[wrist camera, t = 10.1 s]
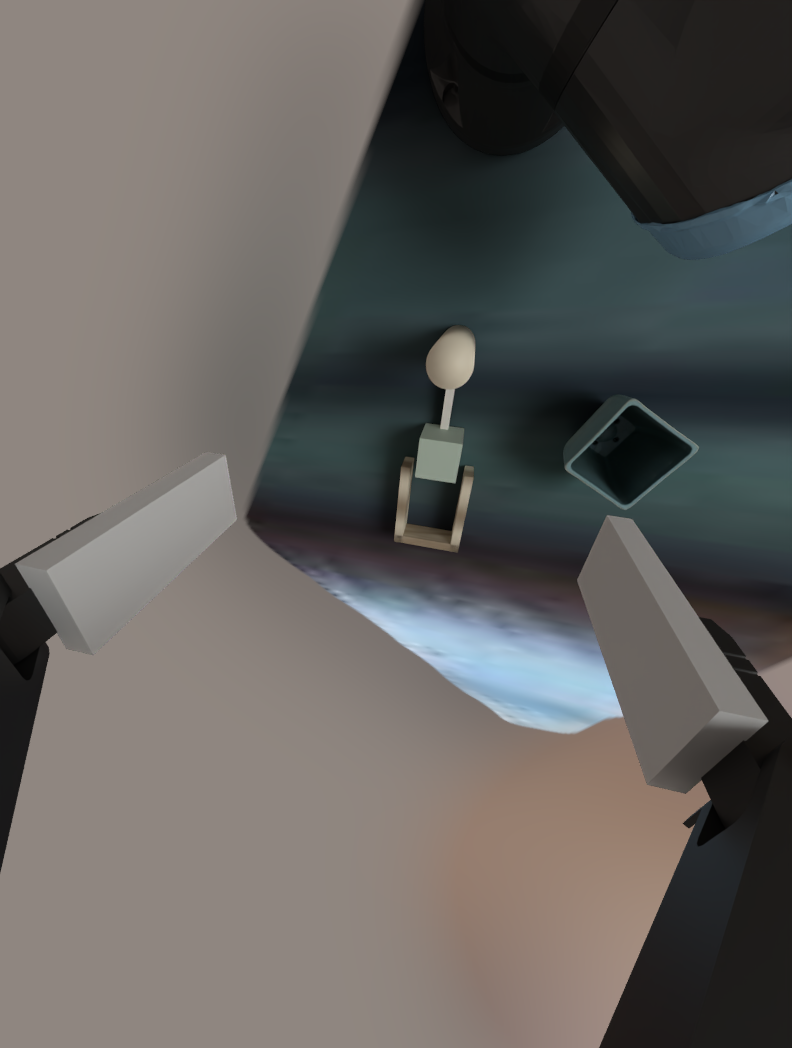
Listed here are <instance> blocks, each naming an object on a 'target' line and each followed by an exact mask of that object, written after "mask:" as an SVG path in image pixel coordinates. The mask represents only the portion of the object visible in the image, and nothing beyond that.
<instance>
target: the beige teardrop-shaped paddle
mask: <svg viewBox="0 0 792 1048" xmlns="http://www.w3.org/2000/svg"><path fill="white" fill-rule="evenodd" d="M474 360H475V337H474V334H473V333H472V331H471V330H470V329H469V328H468V327H466V326H463V325H455V326H452V327H450V328H449V329H447V330H446V331H445V332H444V334H443V335H442V336H441V337H440V339H439V340H438V341H437V342H436V343H435V345H434V346H433V347H432V348H431V350H430V351H429V353H428V356H427V360H426V370H427V374H428V376H429V378H430V380H431V381H432V382H433V383H434V384H435V385H436V386H438V387H440V388H442V389H446V393H445V399H444V406H443V413H442V420H441V425H437V424H430V423H426V424H425V426H424V429H423V431H422V434H421V436H420V440H419V448H418V456H417V465H416V473H415V477H417V478H424V479H430V480H436V481H443V482H449V483H456V478H457V472H458V467H459V462H460V456H461V451H462V446H463V437H464V428H459V427H451V426H449V422H450V416H451V409H452V403H453V397H454V391H455V389H456V388H458V387H460V386H462V385H463V384H465V383H466V382H467V381H468V379H469V378H470V376H471V375H472V372H473V369H474Z"/></svg>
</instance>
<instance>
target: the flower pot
mask: <svg viewBox="0 0 792 1048" xmlns="http://www.w3.org/2000/svg"><path fill="white" fill-rule="evenodd" d="M615 419H619V421H618V422H617V423H615V422H614V420H615ZM615 437H618V440H617V441H614V440H613V439H614V438H615ZM594 441H597V443H596V444H593V442H594ZM698 449H699V447H698V445H696V444H695V443H694V442H692V441H691V440H689V439H688V438H687V437H685V436H684V435H682V434H681V433H680V432H678V431H677V430H675V429H674V428H673V427H671V426H670V425H669V424H667V423H666V422H665V421H663V420H662V419H661V418H659V417H658V416H657V415H655V414H654V413H653V412H652V411H650V410H649V409H648V408H647V407H645V406H644V405H643V404H642V403H641V402H639V401H638V400H636V399H633V398H630V397H627V396H624V395H613V396H611V397H610V398H608V399H607V400H606V401H605V402H604V403H603V404H602V405H601V407H600V408H599V409H598V410H597V411H596V412H595V413H594V414H593V415H592V416H591V417H590V418H589V419H588V420H587V421H586V422H585V423H584V425H583V426H582V427H581V428H580V429H579V430H578V431H577V432H576V433H575V434H574V435H573V436H572V437H571V438H570V439H569V440H568V442H567V443H566V444H565V446H564V449H563V457H564V466H565V470H566V471H567V472H569V473H570V474H572V475H573V476H575V477H576V478H578V479H579V480H581V481H582V482H584V483H585V484H586V485H588V486H589V487H591V488H592V489H594V490H595V491H597V492H598V493H599V494H601V495H602V496H604V497H605V498H606V499H608V500H609V501H611V502H612V503H614V504H615V505H616V506H618V507H619V508H621V509H623V510H626V509H628V508H630V507H631V506H633V505H634V504H635V503H636V502H637V501H639V500H640V499H641V498H642V497H643V496H644V495H646V494H647V493H648V492H649V491H650V490H652V489H653V488H654V487H655V486H656V485H657V484H659V483H660V482H661V481H662V480H663V479H665V478H666V477H667V476H669V475H670V474H671V473H672V472H673V471H674V470H676V469H677V468H678V467H679V466H681V465H682V464H683V463H684V462H686V461H687V460H688V459H689V458H691V457H692V456H693V455H694V454H695V453H696V452H697V451H698Z"/></svg>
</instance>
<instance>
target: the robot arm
mask: <svg viewBox="0 0 792 1048" xmlns="http://www.w3.org/2000/svg"><path fill="white" fill-rule="evenodd" d="M424 46H425V56H426V63H427V68H428V73H429V77H430V82H431V86H432V90H433V93H434V96H435V99H436V102H437V105H438V107H439V109H440V111H441V113H442V115H443V117H444V119H445V121H446V122H447V124H448V125H449V127H450V128H451V129H452V130H453V132H454V133H455V134H456V135H457V136H458V137H459V138H460V139H461V140H462V141H463V142H465V143H466V144H467V145H469V146H471V147H472V148H474V149H476V150H478V151H481V152H484V153H487V154H492V155H512V154H517V153H521V152H524V151H527V150H529V149H532V148H534V147H536V146H538V145H540V144H541V143H543V142H545V141H546V140H548V139H549V138H550V137H552V136H553V135H554V134H556V133H557V132H558V131H559V130H560V129H561V128H562V127H564V126H565V127H566V128H567V130H568V131H569V132H570V133H571V135H572V136H573V137H574V139H575V140H576V141H577V142H578V144H579V145H580V146H581V148H582V149H583V150H584V151H585V153H586V154H587V155H588V157H589V158H590V159H591V160H592V162H593V163H594V164H595V165H596V167H597V168H598V169H599V171H600V172H601V173H602V174H603V176H604V177H605V178H606V180H607V181H608V182H609V183H610V185H611V186H612V187H613V189H614V190H615V191H616V192H617V194H618V195H619V196H620V198H621V199H622V200H623V201H624V203H625V204H626V205H627V207H628V208H629V209H630V210H631V215H632V218H633V220H634V222H635V223H636V224H637V225H640V227H641V228H642V229H645V230H648V231H649V232H650V233H651V234H652V235H653V236H654V237H655V239H656V240H657V241H658V242H659V243H660V244H661V245H662V246H663V247H664V249H665V250H666V251H667V252H668V253H670V254H672V255H674V256H676V257H678V258H683V259H687V260H696V259H705V258H711V257H715V256H719V255H722V254H725V253H728V252H731V251H734V250H736V249H739V248H741V247H744V246H746V245H749V244H751V243H753V242H756V241H758V240H760V239H762V238H765V237H767V236H769V235H771V234H773V233H775V232H777V231H779V230H781V229H783V228H785V227H786V226H788V225H790V224H792V0H425V12H424ZM236 520H237V516H236V511H235V505H234V500H233V493H232V488H231V482H230V477H229V472H228V466H227V460H226V455H224V454H218V453H211V452H204V453H203V454H201V455H199V456H198V457H196V458H194V459H193V460H191V461H189V462H187V463H186V464H184V465H182V466H181V467H179V468H177V469H176V470H174V471H172V472H170V473H169V474H167V475H165V476H164V477H162V478H161V479H158V480H157V481H155V482H153V483H152V484H150V485H148V486H147V487H145V488H143V489H141V490H140V491H138V492H136V493H135V494H133V495H131V496H130V497H128V498H126V499H125V500H123V501H121V502H119V503H118V504H116V505H114V506H112V507H111V508H109V509H107V510H106V511H104V512H102V513H100V514H97V515H95V516H92V517H89V518H87V519H85V520H83V521H82V522H80V523H78V524H76V525H75V526H73V527H71V529H70V530H66V531H64V532H63V533H61V534H59V535H57V536H56V539H53V538H52V539H50V540H49V541H47V542H45V543H44V544H42V545H40V546H38V547H37V548H35V549H33V550H32V551H30V552H28V553H26V554H25V555H23V556H21V557H19V558H18V559H16V560H14V561H13V562H11V563H9V564H8V565H6V566H4V567H2V568H0V871H1V867H2V863H3V858H4V854H5V850H6V845H7V841H8V836H9V832H10V827H11V823H12V818H13V814H14V809H15V805H16V800H17V796H18V791H19V787H20V782H21V778H22V774H23V769H24V764H25V760H26V756H27V751H28V747H29V742H30V738H31V734H32V729H33V724H34V720H35V716H36V711H37V707H38V702H39V697H40V694H41V689H42V685H43V680H44V676H45V671H46V666H47V662H48V658H49V647H48V646H47V644H46V641H47V640H48V639H50V638H51V637H52V636H53V635H54V634H56V633H57V634H58V636H59V637H60V639H61V640H62V642H63V644H64V645H65V647H66V649H69V650H73V651H78V652H82V653H86V654H91V655H94V654H95V653H96V652H97V651H98V650H100V649H101V648H102V647H103V646H104V645H105V644H106V643H107V642H108V641H109V640H110V639H111V638H112V637H113V636H114V635H115V634H116V633H118V632H119V631H120V630H121V629H122V628H123V627H124V626H125V625H126V624H127V623H128V622H129V621H130V620H131V619H132V618H133V617H134V616H136V614H138V613H139V612H140V611H141V610H142V609H143V608H144V607H145V606H146V605H147V604H148V603H149V602H150V601H151V600H152V599H154V598H155V597H156V596H157V595H158V594H159V593H160V592H161V591H162V590H163V589H164V588H165V587H166V586H167V585H168V584H169V583H170V582H172V581H173V580H174V579H175V578H176V577H177V576H178V575H179V574H180V573H181V572H182V571H183V570H184V569H185V568H186V567H187V566H188V565H190V563H192V562H193V561H194V560H195V559H196V558H197V557H198V556H199V555H200V554H201V553H202V552H203V551H204V550H205V549H206V548H208V547H209V546H210V545H211V544H212V543H213V542H214V541H215V540H216V539H217V538H218V537H219V536H220V535H221V534H222V533H223V532H224V531H226V529H228V528H229V527H230V526H231V525H232V524H233V523H234V522H235V521H236ZM577 581H578V584H579V587H580V590H581V593H582V596H583V599H584V602H585V605H586V608H587V611H588V614H589V617H590V619H591V622H592V625H593V628H594V631H595V634H596V637H597V640H598V643H599V646H600V649H601V652H602V655H603V657H604V660H605V663H606V666H607V669H608V672H609V675H610V678H611V681H612V684H613V687H614V690H615V692H616V695H617V698H618V701H619V704H620V707H621V710H622V713H623V716H624V719H625V722H626V724H627V727H628V730H629V733H630V736H631V739H632V742H633V745H634V748H635V751H636V754H637V757H638V760H639V763H640V766H641V768H642V771H643V774H644V777H645V780H646V783H647V785H651V786H655V787H659V788H664V789H668V790H672V791H677V792H681V793H685V794H686V793H687V792H688V791H690V790H691V789H692V788H693V787H694V786H695V785H696V784H697V783H699V782H700V781H701V780H702V781H703V784H704V786H705V788H706V790H707V792H708V795H709V797H710V799H711V800H710V801H709V802H707V803H706V804H705V805H704V806H703V807H701V808H700V809H699V810H698V811H696V812H695V813H694V814H693V815H691V816H690V817H689V818H688V819H687V820H686V821H685V822H684V823H683V824H684V825H685V826H686V827H688V828H690V827H692V826H693V825H694V824H695V826H694V828H693V831H692V833H691V835H690V838H689V840H688V842H687V844H686V847H685V849H684V851H683V854H682V856H681V858H680V861H679V863H678V865H677V868H676V870H675V872H674V875H673V877H672V879H671V882H670V884H669V887H668V889H667V891H666V893H665V896H664V898H663V900H662V903H661V905H660V907H659V910H658V912H657V914H656V917H655V919H654V921H653V924H652V926H651V928H650V931H649V933H648V935H647V938H646V940H645V942H644V945H643V947H642V949H641V951H640V954H639V957H638V959H637V961H636V963H635V966H634V968H633V970H632V972H631V975H630V977H629V980H628V982H627V984H626V987H625V989H624V991H623V994H622V996H621V998H620V1001H619V1003H618V1005H617V1007H616V1010H615V1012H614V1014H613V1017H612V1019H611V1021H610V1024H609V1026H608V1028H607V1031H606V1033H605V1035H604V1038H603V1040H602V1042H601V1045H600V1047H599V1048H792V718H791V717H790V716H789V714H788V713H787V712H786V710H785V709H784V707H783V706H782V705H781V703H780V702H779V701H778V699H777V698H776V697H775V695H774V694H773V692H772V691H771V690H770V688H769V687H768V686H767V684H766V683H765V682H764V680H763V679H762V678H761V676H758V675H757V671H756V669H755V668H754V667H753V665H752V664H751V663H750V661H749V660H746V659H745V657H746V656H745V654H744V653H743V652H742V650H741V649H740V648H739V646H738V645H737V643H736V642H735V641H734V639H733V638H732V637H731V636H730V635H729V634H728V633H726V632H725V631H724V630H723V629H722V628H721V627H719V626H718V625H717V624H716V623H715V622H714V621H712V620H711V619H706V618H701V617H698V616H697V614H696V613H695V611H694V610H693V608H692V607H691V605H690V604H689V602H688V601H687V600H686V598H685V597H684V595H683V594H682V592H681V591H680V589H679V588H678V586H677V585H676V583H675V582H674V580H673V579H672V577H671V576H670V574H669V573H668V571H667V570H666V568H665V567H664V566H663V564H662V563H661V561H660V560H659V558H658V557H657V555H656V554H655V552H654V551H653V549H652V548H651V546H650V545H649V543H648V542H647V540H646V539H645V537H644V536H643V534H642V533H641V532H640V530H639V529H638V527H637V526H636V524H635V523H634V521H633V520H632V519H628V518H621V517H615V516H609V515H607V516H606V519H605V521H604V523H603V525H602V527H601V529H600V532H599V534H598V536H597V538H596V540H595V542H594V545H593V547H592V549H591V551H590V553H589V556H588V558H587V560H586V562H585V564H584V566H583V569H582V571H581V573H580V575H579V577H578V580H577Z"/></svg>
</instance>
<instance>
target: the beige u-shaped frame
mask: <svg viewBox="0 0 792 1048" xmlns="http://www.w3.org/2000/svg"><path fill="white" fill-rule="evenodd" d="M413 464H414V458H412V457H405V459H404V461H403V464H402V466H401V474H400V485H399V495H398V505H397V516H396V526H395V536H394V541H396V542H401V543H407V544H413V545H418V546H424V547H429V548H435V549H441V550H446V551H452V552H458V548H459V543H460V538H461V534H462V529H463V525H464V520H465V515H466V511H467V506H468V501H469V497H470V492H471V487H472V483H473V478H474V467H472V466H465V468H464V473H463V478H462V483H461V488H460V493H459V498H458V504H457V509H456V514H455V519H454V524H453V529H452V531H448V530H442V529H436V528H430V527H424V526H419V525H413V524H407V516H408V507H409V498H410V490H411V481H412V472H413Z"/></svg>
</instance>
